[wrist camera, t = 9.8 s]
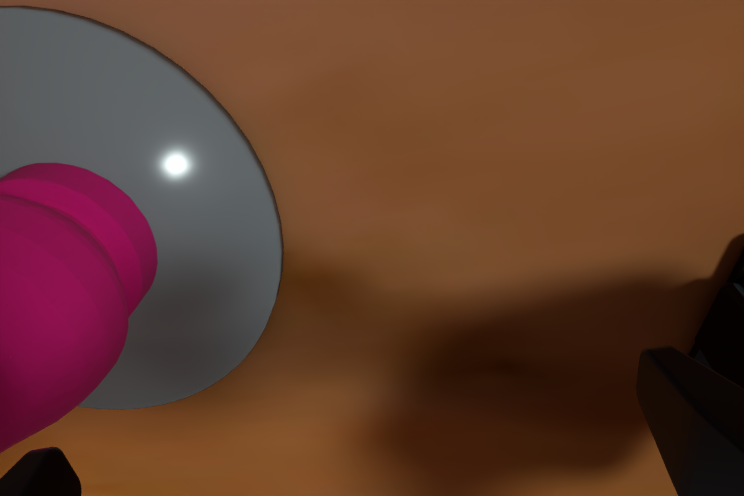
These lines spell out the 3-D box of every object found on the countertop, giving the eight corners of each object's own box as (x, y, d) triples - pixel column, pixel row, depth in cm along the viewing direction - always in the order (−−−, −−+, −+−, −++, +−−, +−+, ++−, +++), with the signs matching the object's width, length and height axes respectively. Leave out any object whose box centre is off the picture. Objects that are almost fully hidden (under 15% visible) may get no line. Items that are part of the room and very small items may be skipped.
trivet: (308, 57, 20) (303, 62, 19) (263, 425, 28) (259, 439, 27) (-198, -39, 20) (-221, -38, 19) (-101, 359, 27) (-115, 371, 27)
